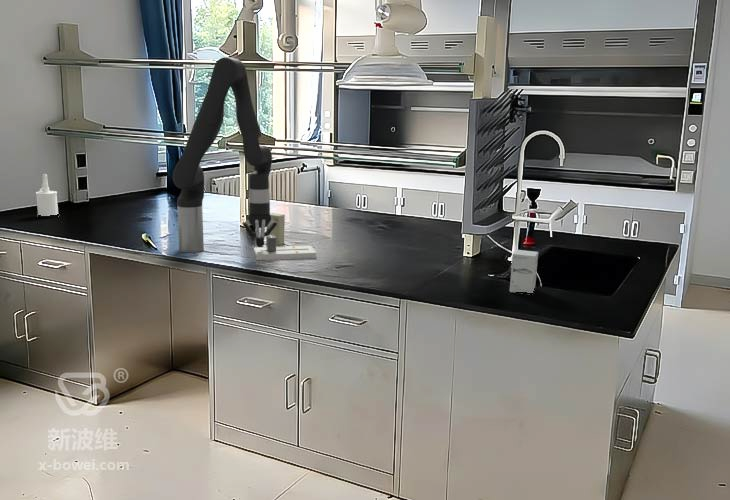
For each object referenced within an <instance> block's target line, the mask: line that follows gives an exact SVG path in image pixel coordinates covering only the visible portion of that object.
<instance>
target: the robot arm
mask: <svg viewBox="0 0 730 500" xmlns="http://www.w3.org/2000/svg"><path fill="white" fill-rule="evenodd" d="M230 88H231V90H232V93H233V97H234V101H235V114H236V115H235V116H236V117H235V118H236V121H237V125H238V128H239V132H240V134H241V137H242V146H243V155H244V158H245V161H246V162H247V163H248V165H250V166H252V167H253V172H251V173H250V174H249V178H248V179H249V180H248V181H249V191H248V206H249V209H248V211H249V212H248V218H247V220H245V221H243V222H242V226H243V227H244V228H245V229H246V230H247V232H248V233H249V234H250V235H251V236H252V237H255V245H256V246H257V247H265V237H266V236H268V235H269V234H270V233H271V231H272V230H273V229H274V228H275V226H276V225H277V223H276V222H275V221H273V220H272V219H271V216H270V213H271V200H270V199H271V194H270V179H269V177H270V173H271V168H272V165H273V154H272V151H271V149H270V148H269V147H268V146H266V145H260V141H259V139H260V138H261V137H262V131H261V128H260V124H259V122H258V121H259V120H258V118H257V115H256V112H255V109H254V106H253V100H252V95H251V91H250V87H249V80H248V73H247V69H246V66H245V64H244V62H242V60H240V59H237V58H236V57H235V58H233V57H227V56H224V57H221V58H219V59H218V60H217V61H216V62H215V64H214V66H213V70H212V72H211V76H210V80H209V84H208V87H207V91H206V93H205V95H204V98H203V100H202V103H201V106H200V109H199V110H198V113H197V115H196V118H195V120H194V123H193V125H192V129H191V131H190V134H189V137H188V139H187V141H186V144H185V147H184V149H183V151H182V154H181V156H180V158H179V160H178V162H177V163H176V165H175V167H174V169H173V173H172V181H173V183H174V185H175V186H176V187H177V188H178V189H181V190H180V193H179V196H178V198H177V199H176V204H177V232H178V233H177V235H178V237H177V238H178V252H180V253H198V252H202V251H204V249H205V247H204V245H205V243H204V220H203V218H204V216H203V213H204V212H203V211H204V210H203V201H204V198H205V174H204V171H203V168H202V166H200V164H201V161H202V160H203V158H204V156H205V154H206V153H207V151H208V150H210V148H211V147H212V145H213V144H214V143H215V141H216V140H217V138H218V135H219V133H220V130H221V127H222V125H223V122H224V115H225V111H224V110H225V108H224V107H225V101H226V97H227V94H228V92H229V90H230ZM269 222H270V227H269V228H268V229H267V225H268V224H269ZM250 224H251V225H250ZM250 226H252V227H253V228H254V230H255V231H253V229H252V228H251V227H250ZM266 229H267V231H266Z"/></svg>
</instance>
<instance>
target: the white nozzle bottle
mask: <svg viewBox="0 0 730 500" xmlns="http://www.w3.org/2000/svg"><path fill="white" fill-rule="evenodd" d="M48 181H49V180H48V174H46V173H42V183H41V188H39V190H38V191H36V192H35V196H36V206H37V207H36V208H37V216H38V215H41V216H50V215H57V214H59V207H58V205H59V204H58V191H56V190H50V187H49V182H48Z"/></svg>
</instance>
